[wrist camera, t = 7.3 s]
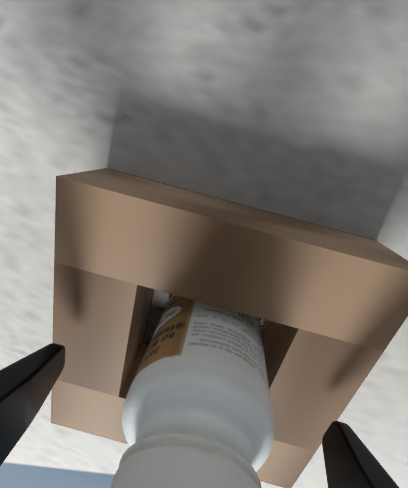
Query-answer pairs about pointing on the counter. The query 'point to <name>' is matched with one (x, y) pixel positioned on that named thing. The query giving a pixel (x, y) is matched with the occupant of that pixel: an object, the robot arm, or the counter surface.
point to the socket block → (216, 301)
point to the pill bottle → (198, 403)
